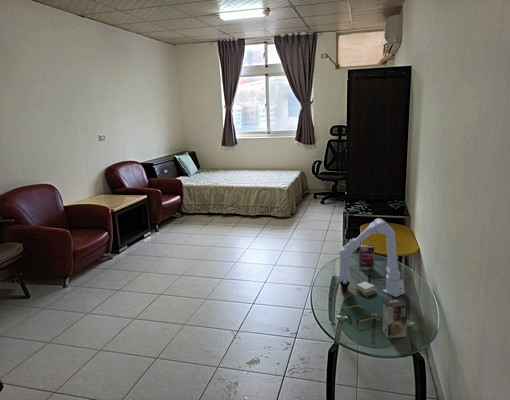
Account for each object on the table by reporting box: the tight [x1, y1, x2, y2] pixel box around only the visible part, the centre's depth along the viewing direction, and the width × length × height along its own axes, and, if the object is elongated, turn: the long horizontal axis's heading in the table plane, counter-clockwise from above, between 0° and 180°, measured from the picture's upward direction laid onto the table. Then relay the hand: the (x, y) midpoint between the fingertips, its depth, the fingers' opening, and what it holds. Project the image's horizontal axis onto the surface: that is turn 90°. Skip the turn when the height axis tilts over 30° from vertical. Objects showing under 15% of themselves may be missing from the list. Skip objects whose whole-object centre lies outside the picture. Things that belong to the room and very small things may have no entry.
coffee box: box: [382, 298, 408, 339], centre depth 177 cm, size 9×6×16 cm
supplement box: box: [358, 244, 375, 271], centre depth 252 cm, size 9×5×16 cm, turn 89°
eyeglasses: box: [341, 304, 381, 327], centre depth 194 cm, size 14×14×4 cm
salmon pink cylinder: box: [340, 285, 350, 294], centre depth 223 cm, size 4×4×4 cm
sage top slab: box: [356, 281, 375, 293], centre depth 221 cm, size 7×7×2 cm
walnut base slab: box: [355, 288, 377, 298], centre depth 221 cm, size 8×8×2 cm
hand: (344, 289), depth 223 cm, fingers open, 7 cm apart
